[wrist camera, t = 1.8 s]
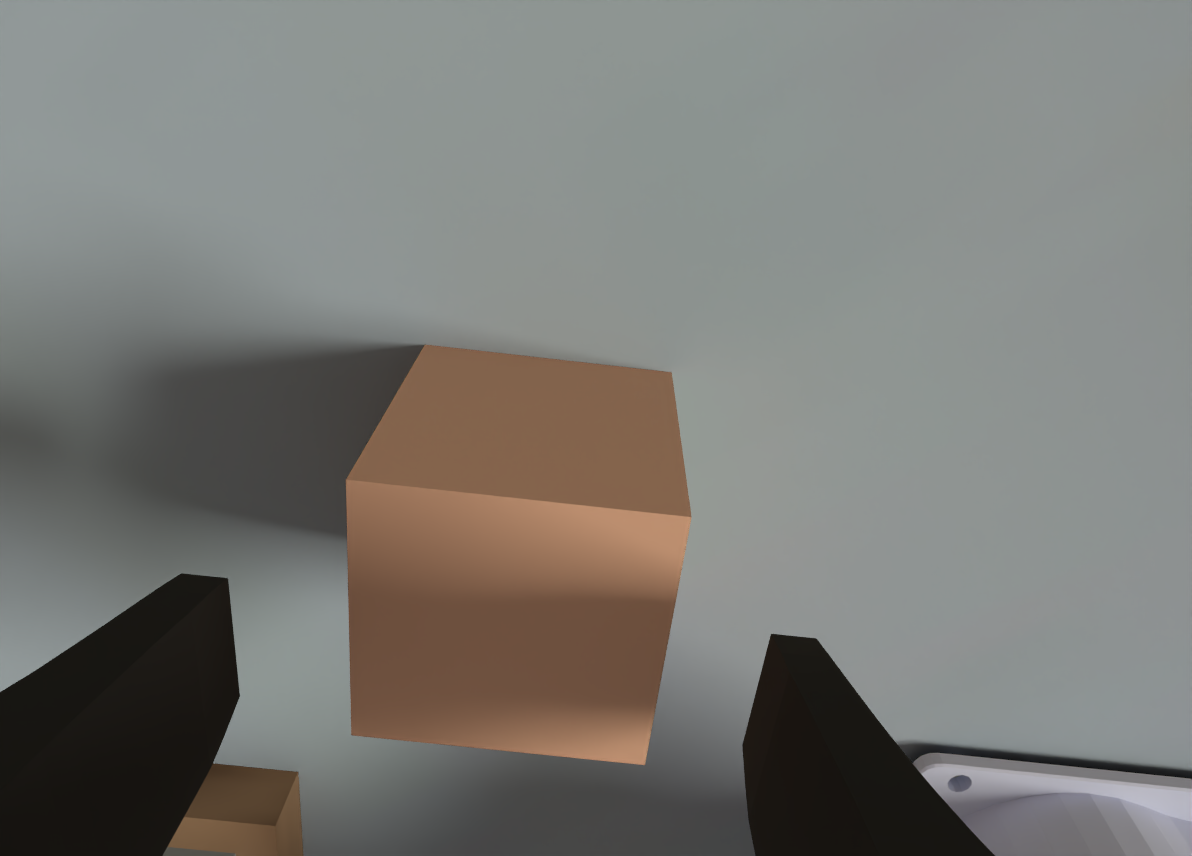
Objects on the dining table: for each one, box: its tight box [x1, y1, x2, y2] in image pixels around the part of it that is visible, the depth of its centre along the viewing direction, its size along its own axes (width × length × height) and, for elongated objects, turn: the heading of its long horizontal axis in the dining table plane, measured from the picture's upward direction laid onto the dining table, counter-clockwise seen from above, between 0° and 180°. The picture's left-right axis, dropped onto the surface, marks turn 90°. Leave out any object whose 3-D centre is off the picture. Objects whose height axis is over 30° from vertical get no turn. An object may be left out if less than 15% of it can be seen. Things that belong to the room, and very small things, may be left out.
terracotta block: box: [346, 345, 691, 765], centre depth 14 cm, size 4×4×5 cm
